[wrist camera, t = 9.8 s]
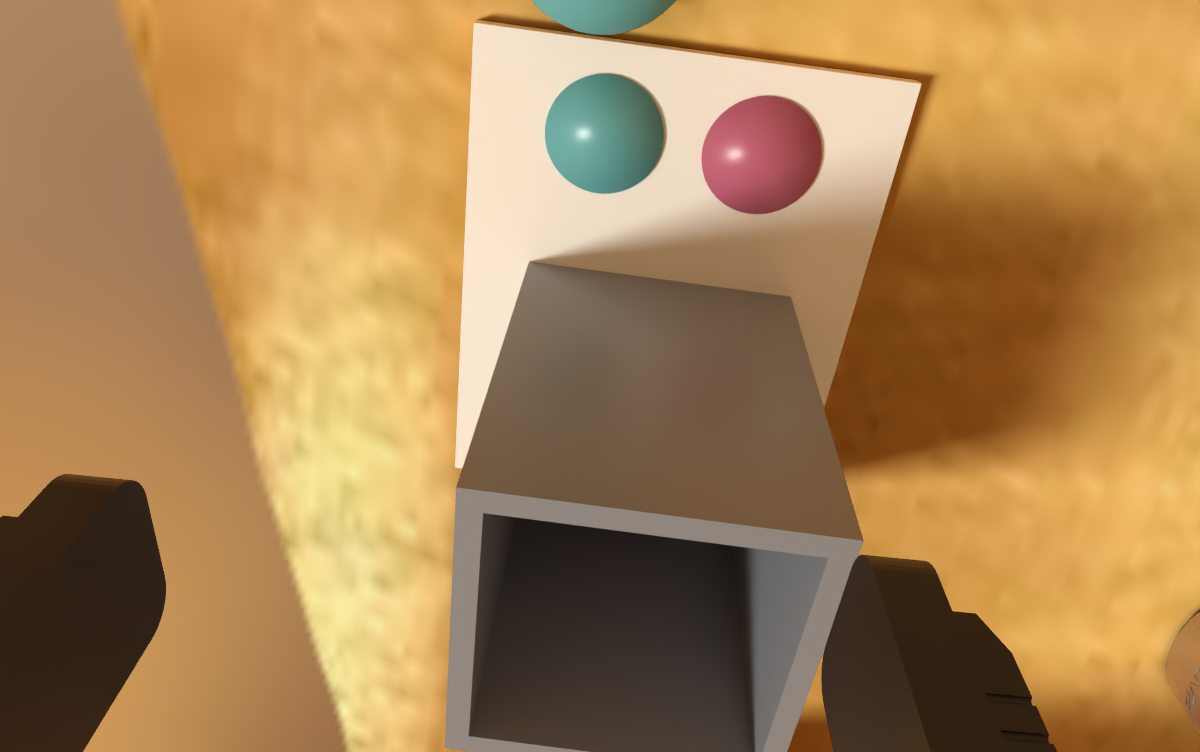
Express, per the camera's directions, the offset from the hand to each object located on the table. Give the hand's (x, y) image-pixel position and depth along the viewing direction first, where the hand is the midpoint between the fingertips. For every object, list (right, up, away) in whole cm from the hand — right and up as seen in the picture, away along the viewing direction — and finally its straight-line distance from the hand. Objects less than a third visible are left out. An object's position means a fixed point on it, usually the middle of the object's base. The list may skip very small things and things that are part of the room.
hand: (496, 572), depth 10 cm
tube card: (+3, +5, +20) cm, 21 cm away
